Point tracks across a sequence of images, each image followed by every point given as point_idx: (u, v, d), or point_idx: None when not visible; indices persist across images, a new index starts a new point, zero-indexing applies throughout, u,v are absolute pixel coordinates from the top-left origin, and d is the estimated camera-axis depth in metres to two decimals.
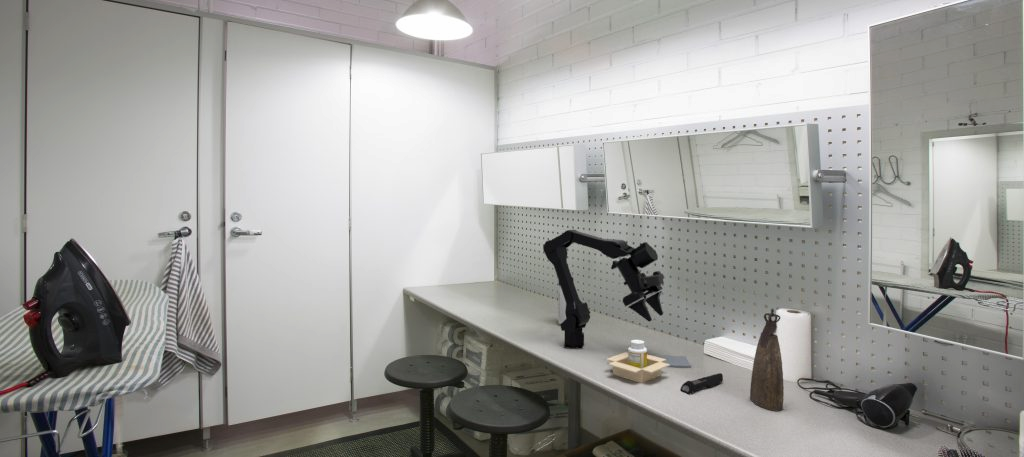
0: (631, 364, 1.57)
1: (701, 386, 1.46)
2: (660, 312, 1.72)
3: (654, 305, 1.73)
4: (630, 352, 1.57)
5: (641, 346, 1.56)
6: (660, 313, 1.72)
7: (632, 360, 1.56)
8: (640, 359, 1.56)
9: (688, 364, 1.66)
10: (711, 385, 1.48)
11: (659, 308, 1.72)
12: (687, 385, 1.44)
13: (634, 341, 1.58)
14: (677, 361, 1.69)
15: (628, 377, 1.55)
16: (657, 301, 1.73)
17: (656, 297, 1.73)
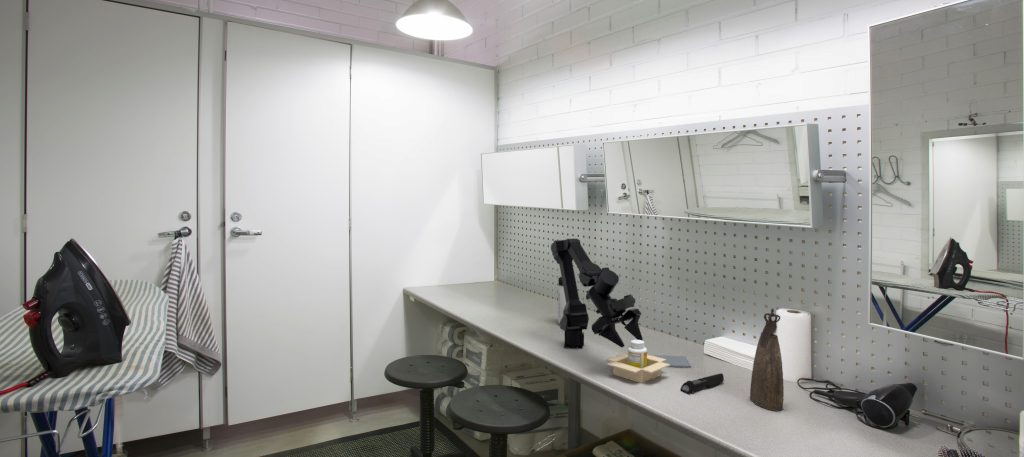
0: (631, 364, 1.57)
1: (701, 386, 1.46)
2: (639, 338, 1.62)
3: (633, 331, 1.65)
4: (630, 352, 1.57)
5: (641, 346, 1.56)
6: (640, 339, 1.62)
7: (632, 360, 1.56)
8: (640, 359, 1.56)
9: (688, 364, 1.66)
10: (711, 385, 1.47)
11: (638, 334, 1.63)
12: (687, 385, 1.44)
13: (634, 341, 1.58)
14: (677, 361, 1.69)
15: (628, 377, 1.55)
16: (635, 326, 1.64)
17: (634, 322, 1.65)
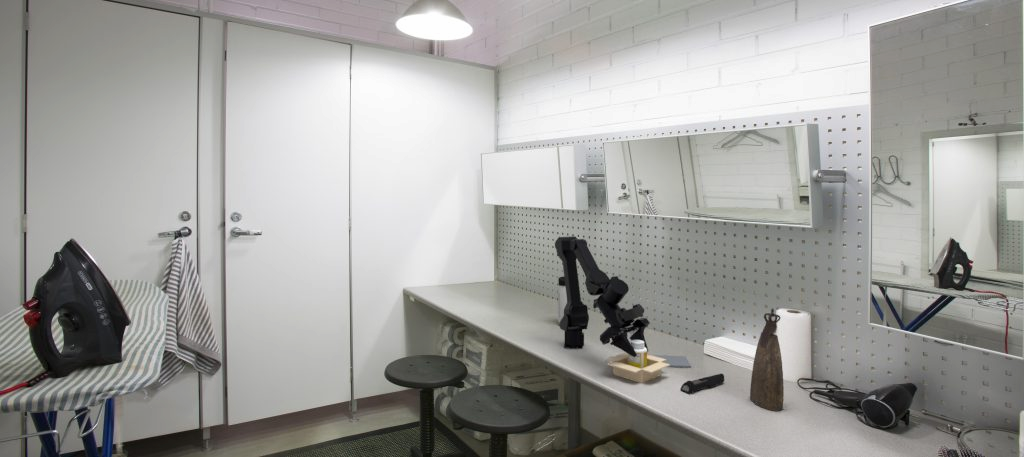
0: (631, 364, 1.57)
1: (701, 386, 1.46)
2: None
3: None
4: None
5: (641, 346, 1.56)
6: None
7: (632, 360, 1.56)
8: (640, 359, 1.56)
9: (688, 364, 1.66)
10: (712, 385, 1.47)
11: None
12: (687, 385, 1.45)
13: (634, 341, 1.58)
14: (677, 361, 1.69)
15: (628, 377, 1.55)
16: (640, 337, 1.61)
17: (639, 333, 1.61)
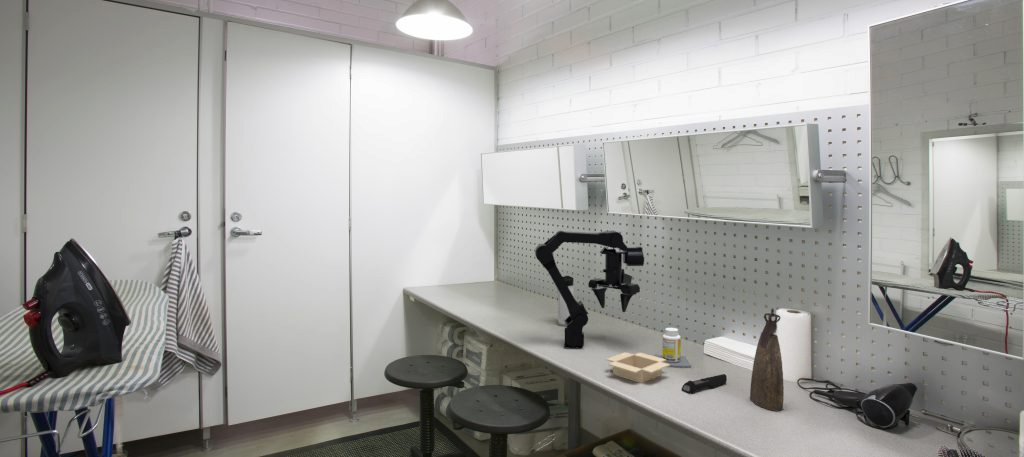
0: (666, 350, 1.68)
1: (703, 386, 1.46)
2: (603, 305, 1.91)
3: (601, 297, 1.90)
4: (665, 339, 1.68)
5: (675, 333, 1.67)
6: (603, 306, 1.90)
7: (667, 346, 1.67)
8: (675, 345, 1.67)
9: (688, 364, 1.66)
10: (713, 386, 1.47)
11: (604, 301, 1.91)
12: (688, 385, 1.45)
13: (668, 329, 1.69)
14: None
15: (628, 377, 1.55)
16: (604, 295, 1.91)
17: (604, 291, 1.91)
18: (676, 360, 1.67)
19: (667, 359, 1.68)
